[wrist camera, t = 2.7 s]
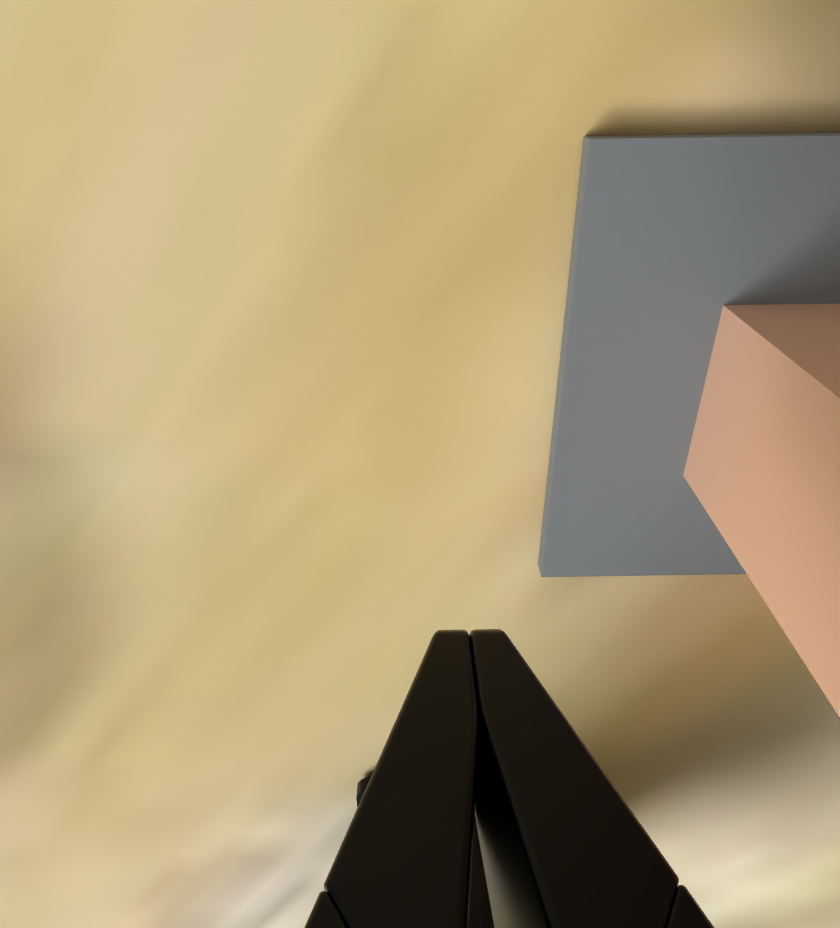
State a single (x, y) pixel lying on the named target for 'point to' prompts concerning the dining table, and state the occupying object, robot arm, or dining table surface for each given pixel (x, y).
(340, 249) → the dining table surface
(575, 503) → the slate mat
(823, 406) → the terracotta block
